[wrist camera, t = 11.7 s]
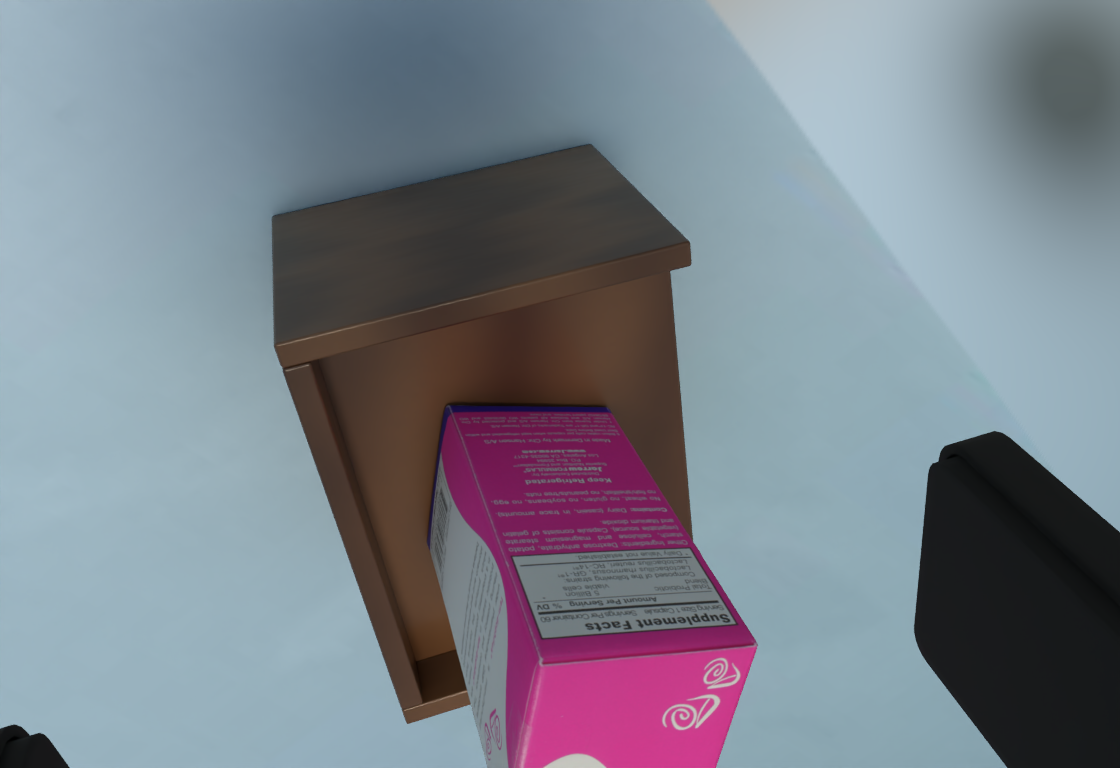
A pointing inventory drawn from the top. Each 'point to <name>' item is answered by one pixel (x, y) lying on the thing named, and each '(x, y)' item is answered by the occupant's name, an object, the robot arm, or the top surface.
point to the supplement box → (578, 596)
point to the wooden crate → (468, 356)
